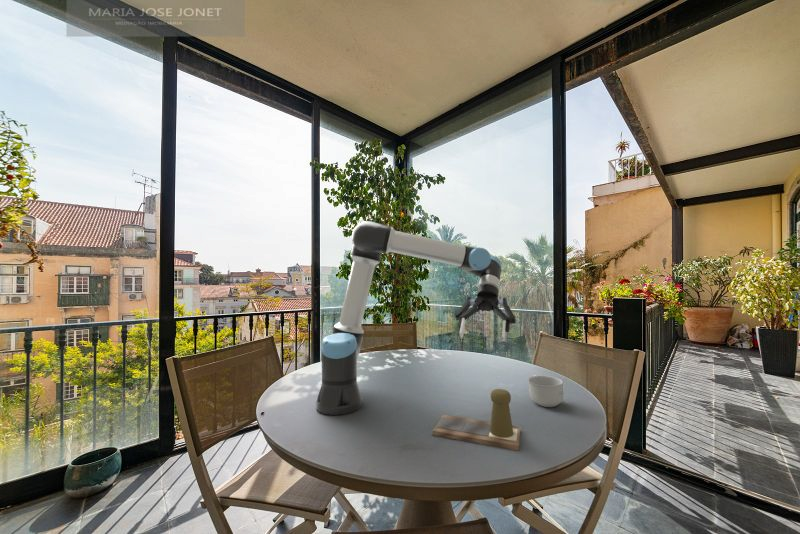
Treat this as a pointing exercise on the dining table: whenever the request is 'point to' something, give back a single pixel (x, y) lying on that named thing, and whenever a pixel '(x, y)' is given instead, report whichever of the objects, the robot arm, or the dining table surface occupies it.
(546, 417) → the dining table surface
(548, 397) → the teacup
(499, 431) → the cork
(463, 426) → the brown frame
